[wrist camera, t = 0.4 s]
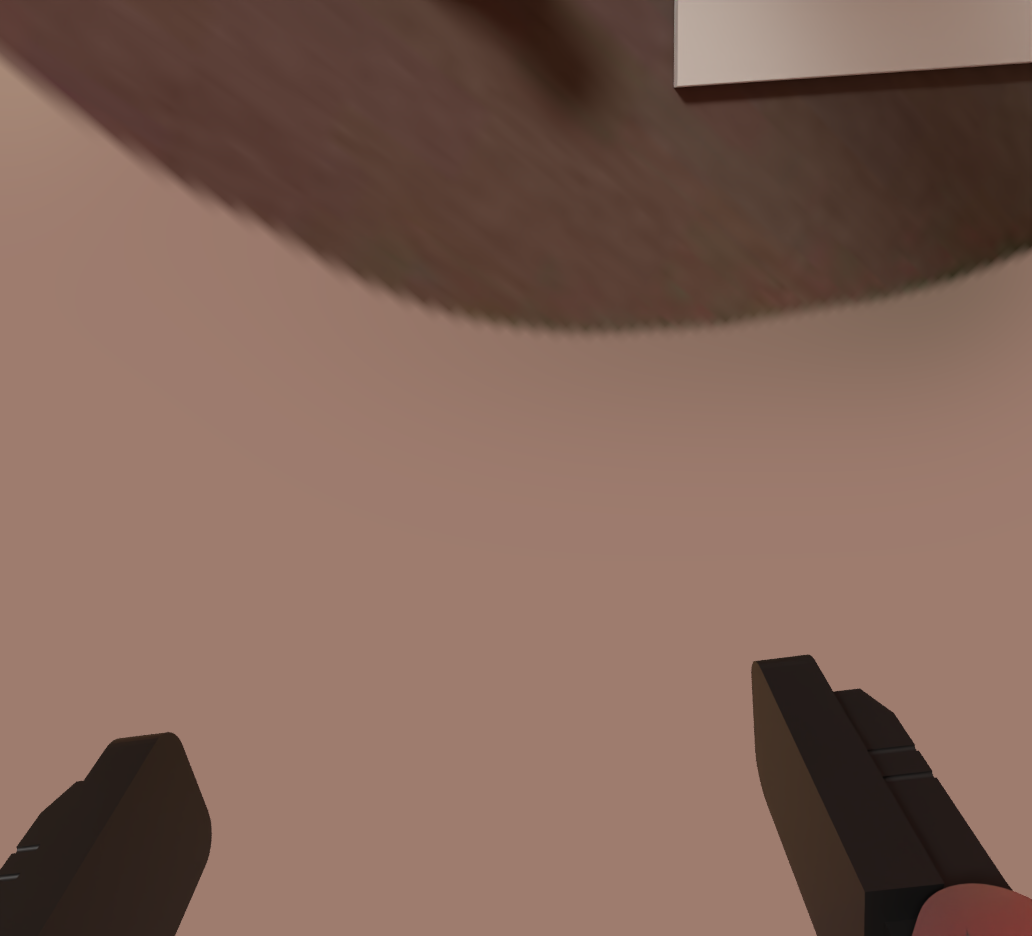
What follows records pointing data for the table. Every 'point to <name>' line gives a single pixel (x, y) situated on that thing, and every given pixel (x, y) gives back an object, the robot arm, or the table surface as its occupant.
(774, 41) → the grey mat
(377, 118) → the table surface
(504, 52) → the table surface
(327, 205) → the table surface
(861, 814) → the robot arm
